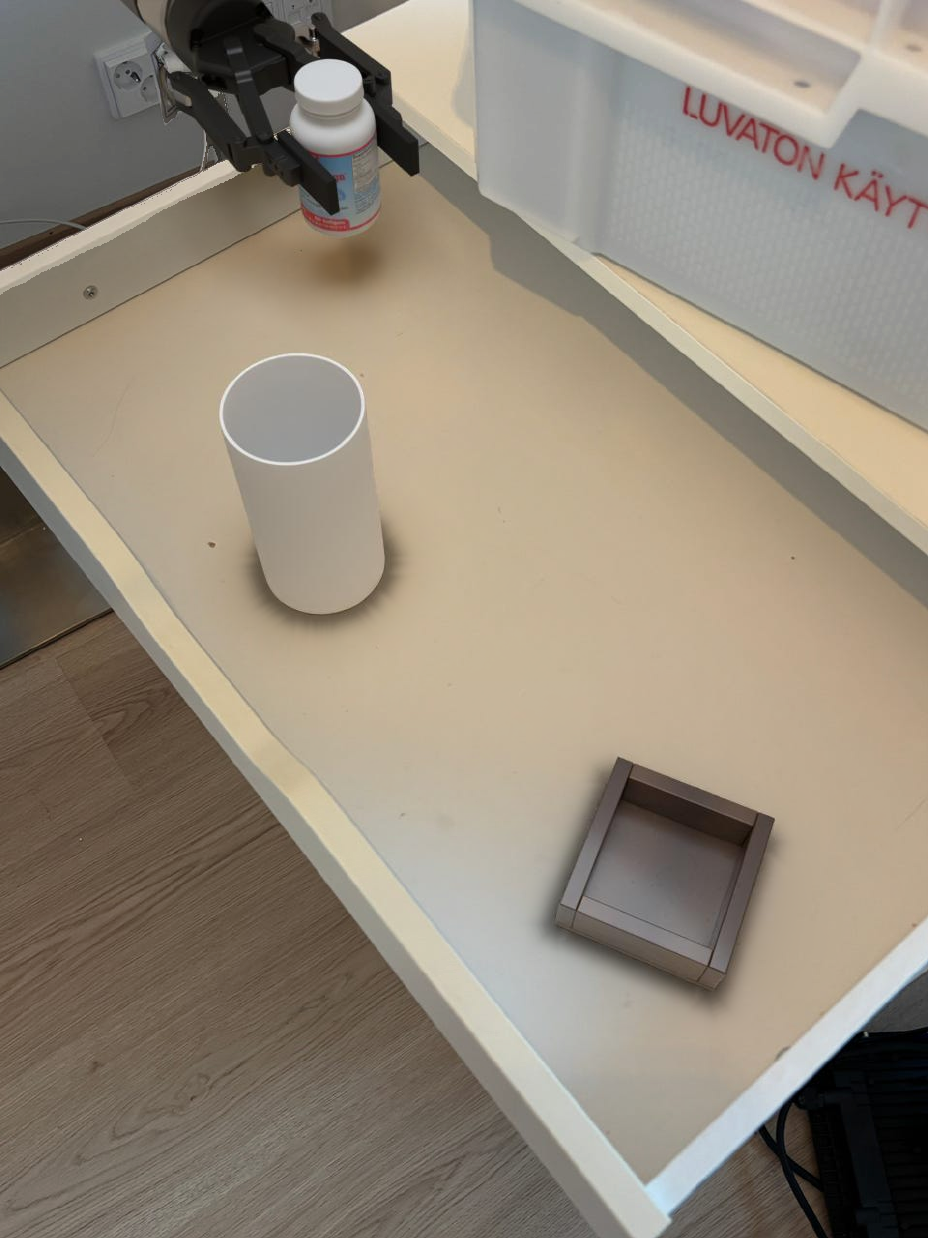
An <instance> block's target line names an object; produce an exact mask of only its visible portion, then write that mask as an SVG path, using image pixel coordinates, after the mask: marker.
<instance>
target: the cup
mask: <svg viewBox="0 0 928 1238" xmlns="http://www.w3.org/2000/svg"><path fill="white" fill-rule="evenodd" d="M367 409H368V408H367V403H366V397H365V394H364V391H363V388H362V386H361V384H360V382H359V381H358V379H357V378H356V376H355V375H354V374H353V373H352V372H351V371H350V370H349V369H348V368H346V366H344V365H343V364H340V363H339V362H338V361H335V360H333V359H331V358H328V357H326V356H323V355H319V354H312V353H307V352H292V353H282V354H278V355H276V354H275V355H273V356H269V357H266V358H264V359H261V360H258V361H256V362H255V363H253V364H251V365H249V366H248V367H247V368H245V369H244V370H242V371H241V372H240V373H239V374H237V376H235V377H234V378H233V379H232V380H231V382H230V383H229V385H228V386H227V388H226V389H225V390H224V393H223V395H222V398H221V400H220V404H219V414H218V416H219V427H220V429H221V433H222V436H223V440H224V444H225V447H226V450H227V454H228V458H229V460H230V465H231V468H232V471H233V474H234V477H235V481H236V484H237V487H238V491H239V494H240V498H241V500H242V501H241V502H242V504H243V507H244V511H245V514H246V517H247V518H246V519H247V521H248V524H249V528H250V531H251V534H252V538H253V541H254V544H255V548H256V551H257V555H258V558H259V561H260V566H261V569H262V572H263V575H264V579H265V582H266V583H267V586H268V587H269V589H270V591H271V593H272V594H273V595H274V596H275V598H277V599H278V600H279V602H281V603H283V604H284V605H285V606H288V608H291V609H293V610H296V611H299V612H301V613H305V614H312V615H330V614H335V613H340V612H343V611H346V610H349V609H351V608H353V607H355V606H356V605H358V604H360V603H362V602H363V601H364V600H366V599H367V598H368V596H370V595H371V594H372V593H373V592H374V590H375V589H376V587H377V586H378V585H379V583H380V581H381V579H382V576H383V574H384V569H385V561H386V558H385V548H384V539H383V533H382V532H383V531H382V523H381V515H380V508H379V507H380V506H379V499H378V491H377V481H376V475H375V467H374V458H373V450H372V443H371V435H370V434H371V433H370V425H369V418H368V410H367Z"/></svg>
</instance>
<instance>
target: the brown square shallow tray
mask: <svg viewBox="0 0 928 1238" xmlns="http://www.w3.org/2000/svg"><path fill="white" fill-rule="evenodd" d="M775 821H776V818H775V817H773V816H770V815H768V814H765V813H763V812H761V811H760V812H758V810H755V809H753V808H750V807H748V806H745V805H742V804H740V803H737V802H734V801H733V800H730V799H727V798H725V797H722V796H719V795H717V794H714V793H713V792H709V791H707V790H705V789H703V788H700V787H697V786H694V785H691V784H688V783H686V782H684V781H682V780H679V779H676V778H673V777H671V776H669V775H666V774H664V773H661V772H658V771H656V770H653V769H650V768H649V767H645V766H643V765H640V764H637V763H634V762H633V761H630V760H628V759H625V758H623V757H620V756H617V757H616V759H615V762H614V764H613V767H612V770H611V772H610V775H609V778H608V780H607V782H606V785H605V788H604V790H603V792H602V795H601V797H600V800H599V802H598V805H597V807H596V809H595V812H594V815H593V817H592V820H591V823H590V825H589V827H588V829H587V832H586V835H585V837H584V840H583V842H582V845H581V848H580V850H579V852H578V855H577V858H576V860H575V863H574V865H573V867H572V870H571V872H570V875H569V878H568V880H567V882H566V885H565V887H564V890H563V892H562V895H561V898H560V900H559V902H558V907H557V911H556V916H555V920H554V925H556V926H559V927H560V928H562V929H566V930H568V931H570V932H572V933H575V934H577V935H579V936H582V937H584V938H585V939H588V940H591V941H594V942H596V943H597V944H600V945H602V946H605V947H607V948H610V949H612V950H614V951H617V952H619V953H622V954H623V955H626V956H629V957H631V958H633V959H636V960H638V961H640V962H643V963H645V964H646V965H650V966H652V967H654V968H657V969H659V970H661V971H664V972H666V973H668V974H671V975H673V976H675V977H677V978H680V979H682V980H684V981H687V982H689V983H692V984H694V985H697V986H698V987H700V988H703V989H706V990H708V991H710V992H713V991H714V989H715V988H716V987H717V985H718V984H720V983H721V981H722V979H723V978H724V977H725V976H726V975H727V973H728V971H729V967H730V963H731V960H732V957H733V954H734V951H735V948H736V945H737V941H738V938H739V936H740V931H741V929H742V925H743V923H744V920H745V917H746V913H747V910H748V907H749V903H750V900H751V897H752V894H753V891H754V888H755V885H756V881H757V879H758V875H759V872H760V869H761V866H762V862H763V860H764V856H765V853H766V850H767V846H768V844H769V840H770V837H771V835H772V834H771V833H772V830H773V827H774V824H775Z"/></svg>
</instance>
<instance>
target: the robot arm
mask: <svg viewBox="0 0 928 1238" xmlns="http://www.w3.org/2000/svg"><path fill="white" fill-rule="evenodd" d="M119 1H120V2H121V3H122V4H123V5H124V6H125V7H126V8H127V9H129V11H131V12H132V13H133V14H134V15H135V16H136V17H137V18H138V19H139V20H140V21H141V22H142V23H143V24H144V25H145V26H146V27H148V29H149V30H150V31H152V33H153V34H155V36H156V37H157V38H158V39H159V40H160V41H161V42H162V43H163V44H164V45H165V46H166V47H167V49H169V50H170V51H172V53H173V54H174V55H175V56H176V57H177V59H178V60H179V61H181V62H182V63H183V65H184V66H186V67H187V69H188V70H189V71H190V72H189V73H186V72H184V71H182V70H175V71H172V72H171V73H169V75H168V79H169V83H170V88H171V91H172V96H173V100H174V103H175V107H176V109H177V110H179V111H181V112H182V113H184V114H186V115H188V116H190V117H192V118H193V119H194V120H195V121H196V122H197V123H198V125H199V126H200V127H201V128H202V129H203V131H204V132H205V133H206V135H207V136H208V137H209V138H210V139H211V141H212V142H213V143H214V145H215V146H216V147H217V149H218V150H219V151H220V152H221V153H222V155H223V156H224V158H226V160H227V161H228V162H229V163H230V165H231V166H232V167H233V169H234V170H235V171H236V172H238V173H240V174H241V173H242V174H243V173H244V174H245V173H248V172H251V170H252V168H253V166H256V165H261V167H262V168H261V169H262V172H263V173H262V174H263V175H264V176H266V177H269V178H270V177H276V176H277V177H278V178H279V179H280V180H281V181H282V182H283V183H284V184H285V185H286V186H288V187H291V188H294V187H296V186H298V184H300V185H301V186H302V187H303V188H304V189H305V190H306V191H307V192H308V193H309V194H310V195H311V196H312V197H313V198H314V199H315V200H316V201H317V202H318V203H319V204H320V205H321V206H322V207H323V208H324V209H325V210H326V211H327V212H328V213H329V215H330V216H332V215H334V214H336V213H338V212H340V208H339V199H338V191H337V182H336V179H335V178H334V177H333V176H332V175H331V174H330V173H329V172H328V171H327V170H326V169H325V168H324V167H323V166H322V165H321V164H320V163H319V162H318V161H317V160H316V159H315V158H314V157H313V156H312V155H311V154H310V153H309V152H308V151H307V150H306V149H305V148H304V147H303V146H302V145H301V144H300V143H299V142H298V141H297V140H296V139H295V138H294V137H293V136H292V135H291V133H290V131H288V130H287V129H286V128H285V129H282V130H281V131H278V132H276V133H275V134H276V137H275V134H274V131H273V128H272V124H271V122H270V119H269V118H268V117H269V116H268V114H267V112H266V109H265V107H264V104H263V102H262V100H261V96H263V95H265V94H266V93H268V92H269V91H271V90H272V89H277V88H281V87H282V88H283V89H286V90H288V91H290V92H291V93H294V94H295V87H294V78H295V75H296V74H297V72H298V71H299V70H300V69H301V68H302V67H303V66H305V65H307V64H309V63H311V62H314V61H318V60H324V59H335V60H341V61H345V62H347V63H350V64H352V65H353V66H354V67H356V68H357V69H358V71H359V72H360V74H361V76H362V82H363V89H364V97H363V98H364V99H365V100H366V101H367V102H368V103H369V104H370V106H371V108H372V110H373V112H374V115H375V122H376V134H377V148H379V149H380V150H381V151H382V152H384V153H385V154H386V156H388V157H389V158H390V159H391V160H392V161H393V162H394V163H395V164H396V165H398V166H399V168H401V169H402V170H403V171H404V172H405V173H406V174H407V175H408V176H409V177H414V176H417V175H419V174H420V171H421V170H420V149H419V148H420V147H419V139H418V138H417V137H415V135H414V134H412V133H411V132H410V131H409V130H408V129H407V128H406V127H405V126H403V124H404V123H403V116H402V113H401V112H399V111H398V110H397V109H396V108H395V107H394V106H393V104H394V99H393V82H392V81H393V80H392V71H391V70H390V69H389V68H387V67H385V66H384V65H383V64H382V63H381V62H380V61H378V60H376V59H375V58H374V57H372V56H371V55H370V54H369V53H367V52H366V51H364V50H363V49H362V48H360V47H359V46H358V45H356V44H355V43H354V42H353V41H351V39H349V38H347V37H346V36H344V35H343V34H342V33H341V32H339V31H338V30H337V29H336V28H334V27H333V26H332V24H331V21H330V20H329V18H328V16H327V14H326V13H324V12H321V11H317V12H313V13H312V14H311V15H310V21H311V22H310V23H311V24H307V25H303V26H298V27H293V25H292V24H290V23H289V22H287V21H285V20H284V21H283V20H281V19H277V17H275V16H274V15H273V13H272V12H271V11H270V9H269V8H268V6H267V5H266V3H265V2H264V1H263V0H119ZM307 50H308V51H310V52H311V53H309V52H308V51H307ZM211 91H215V92H219V93H224V94H229V95H234V97H235V99H236V102H237V104H238V107H239V110H240V112H241V115H242V116H243V118H244V120H245V122H246V126H247V128H248V131H249V133H250V136H247V135H246V134H245V133H244V131H243V130H242V129H241V128H240V126H239V125H238V124H237V123H236V122H235V121H234V119H233V118H232V117H231V115H230V114H229V113H228V111H226V109H225V108H224V107H223V106H222V105H221V104H220V102H219V101H218V99H216V97H215V96H214V95H213V94H212V92H211Z"/></svg>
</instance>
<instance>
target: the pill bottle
mask: <svg viewBox="0 0 928 1238" xmlns="http://www.w3.org/2000/svg"><path fill="white" fill-rule="evenodd" d="M294 87H295V93H294V98H295V102H296V103H295V105H294V106H293V108H292V110H291V113H290V115H289V133H290V134H291V135H292V136H293V137H294V138H295V139H296V140H297V141H298V142H299V143H300V144H301V145H302V146H303V147H304V148H305V149H306V150H307V151H308V152H309V153H310V154H311V155H312V156H313V157H314V158H315V159H316V160H317V161H318V162H319V163H320V164H321V165H322V166H323V167H324V168H325V169H326V170H327V171H328V172H329V173H330V174H331V175H332V176H333V177H334V178H335V179H336V182H337V191H338V199H339V208H340V212H338V213H336V214H334V215H332V216H330V215H329V213H328V212H327V211H326V210H325V209H324V208H323V207H322V206H321V205H320V204H319V203H318V202H317V201H316V200H315V199H314V198H313V197H312V196H311V195H310V194H309V193H308V192H307V191H306V190H305V189H304V188H303V187H302V186H301V185H300V184H298V185H297V189H298V196H299V203H300V209H301V214H302V217H303V220H304V221H305V223H306V224H307V226H308V227H310V229H312V230H313V231H315V232H317V233H319V234H321V235H323V236H327V237H333V238H350V237H353V236H358V235H360V234H361V233H364V232H365V231H366V230H369V228H371V227H372V226H373V224H374V223H375V222H376V221H377V220H378V218H379V216H380V214H381V210H382V195H381V194H382V193H381V180H380V167H379V166H380V165H379V163H380V162H379V151H378V150H379V149H378V146H377V134H376V122H375V115H374V112H373V110H372V108H371V106H370V104H369V103H368V102H367V101H366V100H365V99H364V98H363V97H364V89H363V82H362V76H361V74H360V72H359V71H358V69H357V68H356V67H354V66H353V65H352V64H350V63H347V62H345V61H341V60H335V59H324V60H318V61H314V62H311V63H309V64H307V65H305V66H303V67H302V68H301V69H300V70H299V71H298V72H297V74H296V75H295V78H294Z"/></svg>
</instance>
